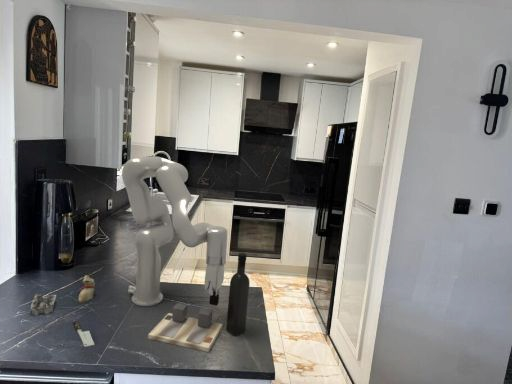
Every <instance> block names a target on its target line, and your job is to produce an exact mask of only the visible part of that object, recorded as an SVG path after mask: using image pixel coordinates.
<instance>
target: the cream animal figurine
mask: <svg viewBox="0 0 512 384" xmlns="http://www.w3.org/2000/svg"><path fill="white" fill-rule="evenodd" d="M83 277H84V278H83V280H82V284H84V286H82V290H80V293H79V295H78V303H79V304H80V303H85V302H88V301H90V300H92V299H93V298H94V292H95V289H96V288H95V287H96V283H95V280H94V278H91V277H90V276H88V275H84V276H83Z"/></svg>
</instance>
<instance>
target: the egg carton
mask: <svg viewBox="0 0 512 384" xmlns="http://www.w3.org/2000/svg"><path fill="white" fill-rule="evenodd" d="M33 296H34V297H33V300H32V303H31V304H30V311H31V315H34V316H38V315H40V314H45V315H48V314H50V313H52V312H53V311H54V307H55V302H56V298H57V294H51V295H48V294H47V295H46V296H43V294H38V293H35V295H33ZM48 302H49V305H48V304H47V303H48ZM38 303H39V305H38Z"/></svg>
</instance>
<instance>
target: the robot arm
mask: <svg viewBox="0 0 512 384" xmlns="http://www.w3.org/2000/svg"><path fill="white" fill-rule="evenodd" d="M121 177H122V182H123V184H124V187H125V190H126V192H127V196H128V201H129V205H130V209H131V213H132V217H133V220H134V221H135V223H136V224H139V225H145V224H150V223H151V225H150V226H146V227H143V228H141V229H140V230H138V232H137V233H136V235H135V238H134V243H135V249H136V280H135V282H136V283H135V285H129V286H128V290H127V293H130V294H132V296H131V302H132V304H134V305H136V306H139V307H153V306H156V305H158V304H159V303H161V302H163V299H164V296H163V293H162V292H160V291H161V288H160V287H161V270H162V269H161V267H162V265H161V264H162V259H161V253H160V251H159V248H160V247H163V246H164V245H166V244H168V243H171V241H172V240H173V238H174V234H175V233H176V235H177V236H178V238H179V240H180V241H181V243H182V244H183V245H184V246H185V247H187V248H192V249H193V248H196V247H197V246H200V245H201V244H204V243H206V252H205V253H206V255H205V257H206V258H205V264H206V267H205V268H206V269H205V274H204V276H205V277H204V285H203V289H204V291H207V290H208V296H209V302H208V303H209V305H210V306H215V307H216V306H217V307H218V305H219V304H220V303H219V301H220V300H219V299H220V289H221V286H222V285H223V284H224V279H225V278H224V277H225V265H226V264H227V251H228V250H227V249H228V248H227V247H228V229H227V228H225V227H224V226H219V225H217V226H215V225H213V224H210V223H209V222H199V223H196V224H194V225H193V224H192V222H191V221H190V219H189V214H188V206H189V204H190V202H191V200H192V195H191V193H190V191H189V190H188V188H187V185H186V184H185V183H186V182H187V180H188V178H189V172H188V169H187V168H186V167H185V166H184V165H182V164H181V163H178V162H176V161H172V160H170V159H167V158H164V157H161V156H154V155H153V156H136V157H132V158H130V159H129V160H127V161H126V162H125V163H124V165H123V167H122V170H121ZM145 178H155V179H156V181H157V183H158V184H159V187H160V188H161V190H162V192H163V194H164V195H165V197H166V199H167V201H168V203H169V204H170V207H171V214H170V211H169V207H168V205H167V204H166V201H164V200H163V199H161V198H160V197H154V198H152V196H151V190H150V188H149V186H148V184H147V183H146V181H145V180H144V179H145ZM174 231H175V233H174Z"/></svg>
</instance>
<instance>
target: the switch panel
mask: <svg viewBox="0 0 512 384" xmlns="http://www.w3.org/2000/svg"><path fill="white" fill-rule="evenodd" d="M172 315H173V313H171V312H168V313H167V314H166V315H165V316H164V317H163V318H162V319H161V321H159V322H158V323H157V324H156V326H154V327H153V328H152V330H151V331H150V332H149V333H148V335H147V339H148V340H154V341H156V342H157V341H158V342H162V343H168V344H171V345H175V346H180V347H183V348H189V349H193V350H197V351H201V352H207V353H209V352H210V350H211V348H212V347H213V345H214V343H215V341H216V340H217V338H218V337H219V334H220V333H221V331H222V329H223V324H222V323H219V322H213V321H212V323H211V324H210V326H209V327H208V328H205V327H200V326H198V318H195V317H190V316H187V317H186V319H185V320H184V321H183V322H177V321H172Z"/></svg>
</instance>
